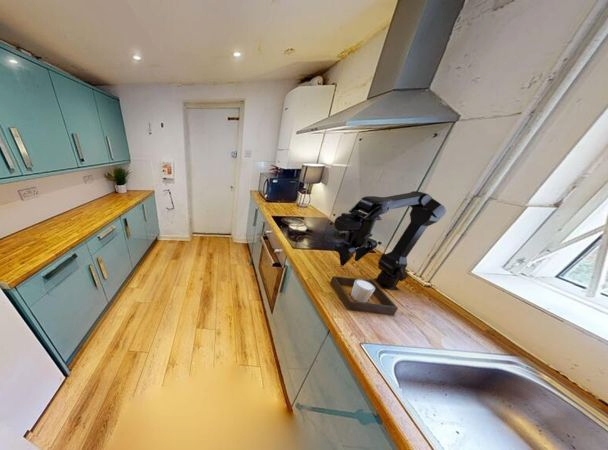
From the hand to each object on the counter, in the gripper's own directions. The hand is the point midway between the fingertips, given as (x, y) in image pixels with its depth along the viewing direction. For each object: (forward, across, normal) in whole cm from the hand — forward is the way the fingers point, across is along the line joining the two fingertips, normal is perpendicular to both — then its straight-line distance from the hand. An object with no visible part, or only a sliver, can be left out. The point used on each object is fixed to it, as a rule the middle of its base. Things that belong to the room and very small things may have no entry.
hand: (349, 263), depth 82 cm
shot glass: (+13, -2, +7) cm, 15 cm away
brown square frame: (+13, -2, +7) cm, 15 cm away
